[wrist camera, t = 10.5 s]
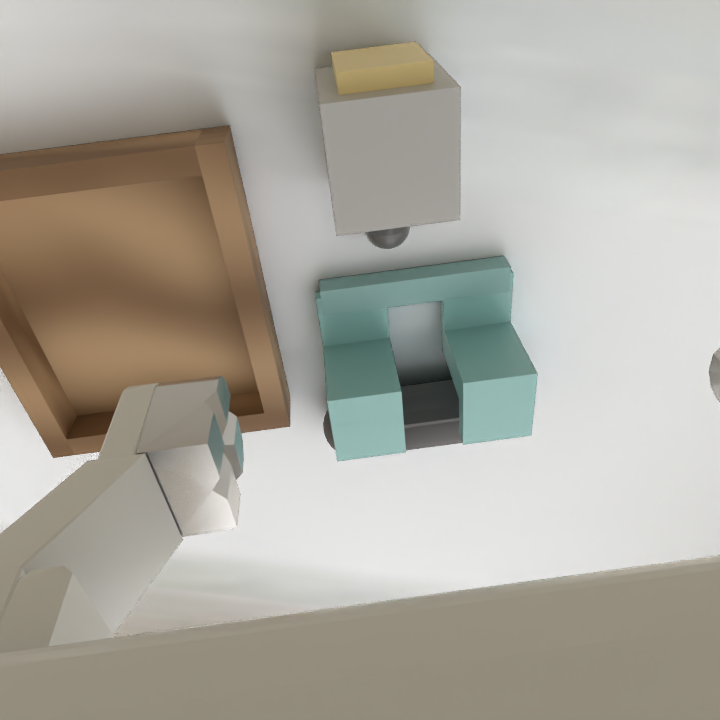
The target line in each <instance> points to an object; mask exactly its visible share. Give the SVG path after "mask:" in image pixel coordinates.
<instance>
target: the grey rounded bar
mask: <svg viewBox="0 0 720 720" xmlns="http://www.w3.org/2000/svg"><path fill="white" fill-rule="evenodd" d="M400 387H401V392H402V405H403V419H404V432H405V445H406V450H411V449H419V448H426V447H434V446H441V445H449V444H456V443H462V440H461V437H460V433H459V397H458V394H457V391H456V388H455V385H454V382H453V380H446V381H438V382H431V383H423V384H416V385H408V386H400ZM323 425H324V433H325V437H326V439H327V441H328V442H329V444H330V445H331V447H333V448H334V449H335V445H334V439H333V433H332V427H331V422H330V416H329V410H327V412H326V415H325V417H324V423H323Z"/></svg>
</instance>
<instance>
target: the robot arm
mask: <svg viewBox="0 0 720 720" xmlns="http://www.w3.org/2000/svg"><path fill="white" fill-rule="evenodd" d="M709 376H710V384H711V388H712V390H713V392H714V394H715V396H716V398H717V400H718V401H719V402H720V348H719V349H718V350H717V351H716V352H715V353H714V354H713V357H712V361H711V365H710V368H709ZM230 397H231V395H230V392H229V389H228V386H227V383H226V380H225V379H224V378H223V377H222V376H215V377H206V378H197V379H188V380H179V381H169V382H160V383H153V384H145V385H137V386H129V387H127V388H126V389H125V390H123V392H122V394H121V397H120V399H119V402H118V405H117V408H116V410H115V413H114V416H113V418H112V421H111V424H110V427H109V429H108V432H107V435H106V437H105V440H104V443H103V446H102V448H101V451H100V454H99V456H98V459H97V460H91V461H87V462H86V463H85V464H83V465H82V466H81V467H80V468H79V469H77V470H76V471H75V472H74V473H73V474H71V475H70V476H69V477H68V478H67V479H65V480H64V481H63V482H62V483H61V484H60V485H58V486H57V487H56V488H55V489H54V490H52V491H51V492H50V493H49V494H48V495H46V496H45V497H44V498H43V499H42V500H40V501H39V502H38V503H37V504H36V505H34V506H33V507H32V508H31V509H30V510H28V511H27V512H26V513H25V514H24V515H22V516H21V517H20V518H19V519H18V520H17V521H15V522H14V523H13V524H12V525H11V526H9V527H8V528H7V529H6V530H5V531H3V532H2V533H1V534H0V720H720V555H718V556H711V557H704V558H696V559H689V560H682V561H674V562H667V563H659V564H652V565H645V566H637V567H630V568H622V569H615V570H608V571H600V572H593V573H586V574H578V575H571V576H563V577H556V578H549V579H541V580H534V581H526V582H519V583H512V584H504V585H497V586H490V587H482V588H475V589H467V590H460V591H453V592H445V593H438V594H431V595H423V596H416V597H408V598H401V599H394V600H386V601H379V602H372V603H364V604H357V605H349V606H342V607H335V608H327V609H320V610H313V611H305V612H298V613H290V614H283V615H276V616H268V617H261V618H254V619H246V620H239V621H231V622H224V623H217V624H209V625H202V626H195V627H187V628H180V629H172V630H165V631H158V632H150V633H143V634H136V635H128V636H121V637H114V636H113V635H114V633H115V632H116V631H117V629H118V628H119V627H120V625H121V624H122V622H123V621H124V620H125V618H126V617H127V616H128V614H129V613H130V612H131V610H132V609H133V607H134V606H135V605H136V603H137V602H138V601H139V599H140V598H141V597H142V595H143V594H144V592H145V591H146V590H147V588H148V587H149V586H150V584H151V583H152V582H153V580H154V579H155V577H156V576H157V575H158V573H159V572H160V571H161V569H162V568H163V566H164V565H165V564H166V562H167V561H168V560H169V558H170V557H171V556H172V554H173V553H174V551H175V550H176V549H177V547H178V546H179V545H180V543H181V542H182V541H183V539H182V537H185V536H191V535H197V534H203V533H209V532H216V531H222V530H228V529H234V528H237V524H238V514H239V504H240V495H241V494H240V491H239V488H238V485H237V481H236V479H237V478H238V477H239V476H240V475H241V474H242V473H243V460H244V458H243V441H242V436H241V430H240V426H239V422H238V419H237V416H235V415H234V414H233V413H231V412H230V411H229V406H230Z"/></svg>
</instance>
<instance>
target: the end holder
mask: <svg viewBox="0 0 720 720" xmlns="http://www.w3.org/2000/svg"><path fill="white" fill-rule="evenodd" d="M0 367H1V369H2V370H3V372H4V374H5V376H6V377H7V379H8V381H9V382H10V384H11V386H12V388H13V389H14V391H15V393H16V395H17V396H18V398H19V400H20V401H21V403H22V405H23V407H24V408H25V410H26V412H27V413H28V415H29V417H30V419H31V420H32V422H33V424H34V426H35V427H36V429H37V431H38V432H39V434H40V436H41V438H42V439H43V441H44V443H45V444H46V446H47V448H48V450H49V451H50V453H51V455H52V456H53V458H56V457H63V456H71V455H79V454H86V453H94V452H100V451H101V448H102V446H103V443H104V440H105V437H106V435H107V432H108V429H109V427H110V424H111V421H112V418H113V416H114V413H115V410H116V408H117V405H118V402H119V399H120V397H121V394H122V392H123V390H125V389H126V388H127V387H129V386H137V385H145V384H153V383H160V382H169V381H179V380H188V379H197V378H206V377H215V376H222V377H223V378H224V379H225V380H226V383H227V386H228V389H229V392H230V395H231V397H230V406H229V411H230V412H231V413H233V414H234V415H235V416H237V419H238V422H239V426H240V430H241V433H245V432H252V431H260V430H267V429H275V428H282V427H290V395H289V390H288V386H287V381H286V377H285V372H284V368H283V363H282V359H281V354H280V350H279V345H278V341H277V336H276V332H275V327H274V323H273V318H272V314H271V309H270V305H269V300H268V296H267V291H266V287H265V282H264V278H263V273H262V269H261V264H260V260H259V255H258V251H257V246H256V242H255V237H254V233H253V228H252V224H251V219H250V215H249V210H248V206H247V201H246V197H245V192H244V188H243V183H242V178H241V174H240V169H239V165H238V160H237V156H236V151H235V147H234V142H233V138H232V133H231V129H230V125H229V126H222V127H214V128H206V129H198V130H190V131H182V132H174V133H166V134H159V135H151V136H143V137H135V138H127V139H119V140H111V141H104V142H96V143H88V144H80V145H72V146H64V147H56V148H48V149H41V150H33V151H25V152H17V153H9V154H1V155H0Z"/></svg>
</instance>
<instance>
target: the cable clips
mask: <svg viewBox="0 0 720 720" xmlns="http://www.w3.org/2000/svg"><path fill="white" fill-rule="evenodd" d="M319 287H320V291H318V292H315V299H316V305H317V311H318V317H319V323H320V329H321V335H322V341H323V348H324V363H325V379H326V394H327V404H328V410H329V416H330V422H331V427H332V433H333V439H334V445H335V450H336V456H337V461H344V460H351V459H359V458H366V457H374V456H381V455H389V454H396V453H404V452H406V445H405V432H404V419H403V405H402V392H401V387H400V383H399V378H398V374H397V369H396V365H395V360H394V356H393V351H392V347H391V342H390V338H389V326H388V314H387V308H390V307H397V306H405V305H413V304H420V303H428V302H436V301H441V303H442V350H443V353H444V356H445V359H446V362H447V365H448V368H449V371H450V374H451V377H452V380H453V382H454V385H455V388H456V391H457V394H458V397H459V433H460V437H461V440H462V443H463V445H464V444H472V443H479V442H487V441H494V440H502V439H509V438H517V437H524V436H531V434H532V424H533V414H534V404H535V394H536V384H537V375H538V373H537V371H536V370H535V368H534V366H533V364H532V362H531V360H530V358H529V356H528V354H527V353H526V351H525V349H524V347H523V345H522V343H521V341H520V339H519V337H518V336H517V334H516V332H515V330H514V328H513V326H512V324H511V322H510V320H511V304H512V288H513V272H512V270H511V266H510V265H509V263H508V261H507V260H506V258H505V256H500V257H493V258H485V259H477V260H470V261H462V262H454V263H447V264H439V265H431V266H423V267H416V268H408V269H400V270H393V271H385V272H377V273H370V274H362V275H354V276H347V277H339V278H331V279H323V280H319Z"/></svg>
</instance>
